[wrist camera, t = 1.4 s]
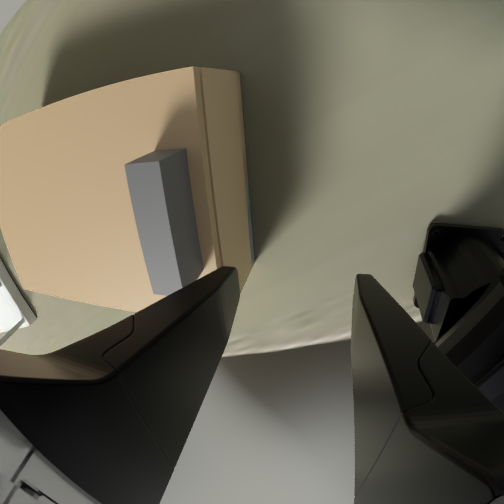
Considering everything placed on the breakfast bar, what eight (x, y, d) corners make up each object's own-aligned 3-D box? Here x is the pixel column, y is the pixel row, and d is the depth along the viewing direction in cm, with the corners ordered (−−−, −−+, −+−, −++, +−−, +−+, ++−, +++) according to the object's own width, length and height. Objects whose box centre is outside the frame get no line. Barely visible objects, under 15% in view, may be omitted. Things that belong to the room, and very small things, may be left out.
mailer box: (239, 71, 17) (201, 67, 12) (254, 262, 23) (230, 315, 18) (40, 116, 22) (-14, 133, 17) (71, 250, 28) (30, 283, 23)
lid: (198, 66, 12) (164, 64, 9) (228, 318, 18) (211, 355, 15) (-17, 134, 16) (-47, 146, 14) (28, 285, 22) (5, 305, 20)
